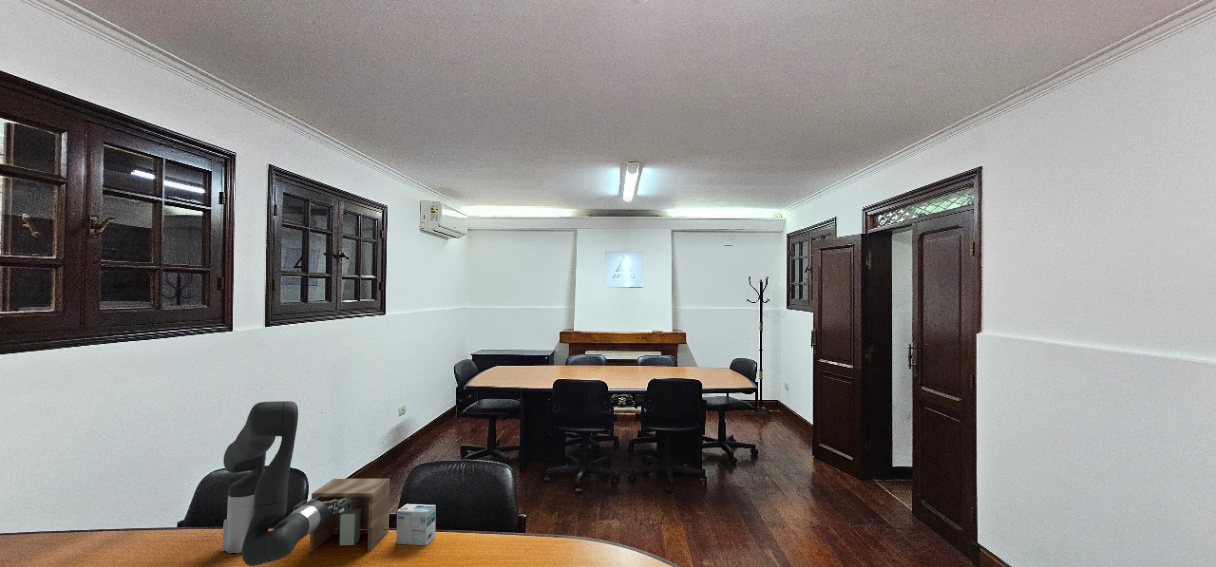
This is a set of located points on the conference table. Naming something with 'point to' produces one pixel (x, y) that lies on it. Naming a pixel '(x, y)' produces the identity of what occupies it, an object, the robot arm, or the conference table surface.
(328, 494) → the hutch
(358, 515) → the block
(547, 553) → the conference table surface
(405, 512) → the light bulb box
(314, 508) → the robot arm
